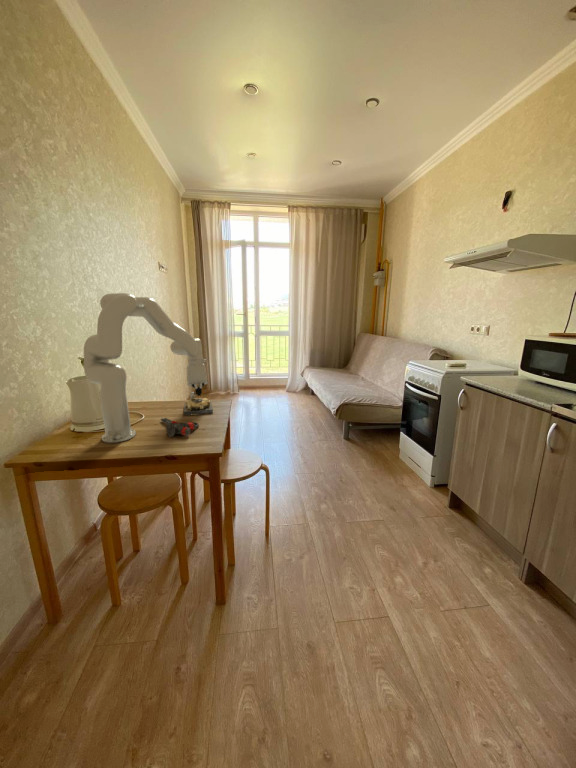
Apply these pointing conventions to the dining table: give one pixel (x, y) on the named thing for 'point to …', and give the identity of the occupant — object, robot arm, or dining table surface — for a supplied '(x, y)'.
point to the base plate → (198, 410)
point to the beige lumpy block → (197, 402)
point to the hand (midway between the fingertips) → (198, 395)
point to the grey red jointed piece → (179, 427)
